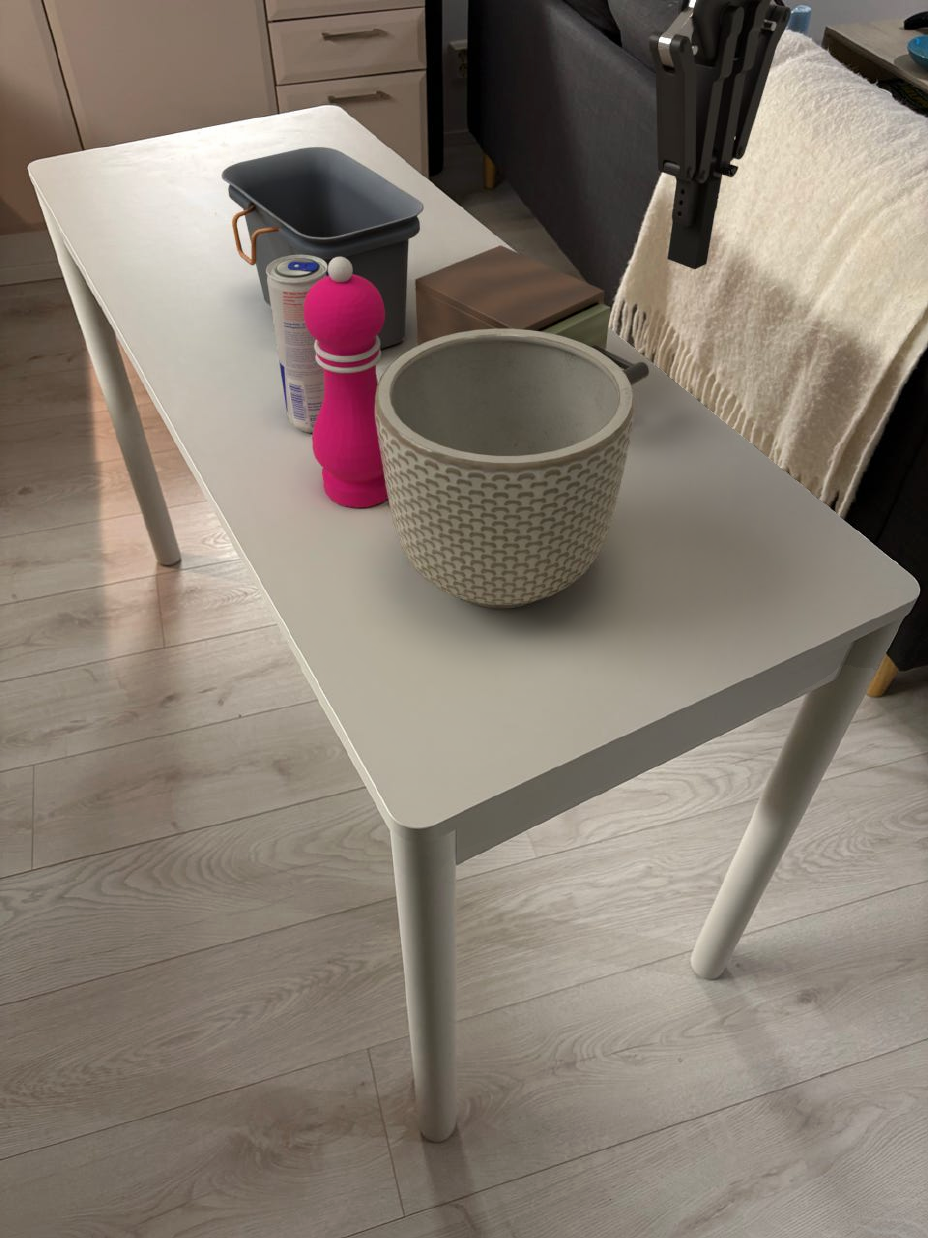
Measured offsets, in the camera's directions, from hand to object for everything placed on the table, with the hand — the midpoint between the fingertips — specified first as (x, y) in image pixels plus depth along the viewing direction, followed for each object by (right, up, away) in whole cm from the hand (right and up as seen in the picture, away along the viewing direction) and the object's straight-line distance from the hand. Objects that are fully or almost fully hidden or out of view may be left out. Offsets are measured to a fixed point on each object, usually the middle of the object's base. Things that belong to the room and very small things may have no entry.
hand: (686, 261), depth 77 cm
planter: (-15, -25, -1) cm, 29 cm away
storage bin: (-32, +3, +27) cm, 42 cm away
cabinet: (-13, -4, +19) cm, 24 cm away
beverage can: (-31, -10, +14) cm, 36 cm away
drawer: (-10, -6, +16) cm, 20 cm away
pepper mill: (-26, -17, +7) cm, 32 cm away
